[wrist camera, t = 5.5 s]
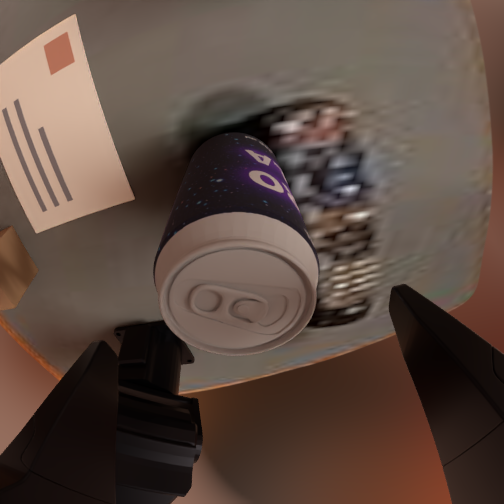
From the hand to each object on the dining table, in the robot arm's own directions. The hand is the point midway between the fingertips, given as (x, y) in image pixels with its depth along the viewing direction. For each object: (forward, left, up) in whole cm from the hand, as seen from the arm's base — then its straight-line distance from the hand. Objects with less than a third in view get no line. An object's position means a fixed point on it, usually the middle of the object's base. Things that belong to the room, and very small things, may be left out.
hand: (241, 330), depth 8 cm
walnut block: (-1, +22, -13) cm, 26 cm away
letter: (+7, +12, -13) cm, 19 cm away
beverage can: (0, 0, -13) cm, 13 cm away
